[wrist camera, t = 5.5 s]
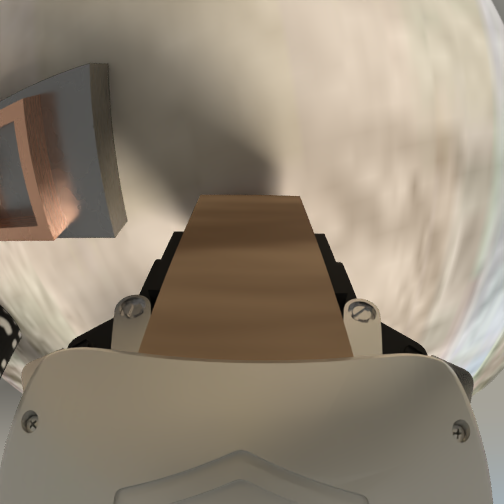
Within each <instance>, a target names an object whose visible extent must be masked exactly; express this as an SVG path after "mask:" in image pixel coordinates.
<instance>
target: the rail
mask: <svg viewBox="0 0 504 504" xmlns="http://www.w3.org/2000/svg"><path fill="white" fill-rule="evenodd" d="M126 222H127V217H126V212H125V207H124V202H123V197H122V192H121V186H120V180H119V174H118V168H117V162H116V155H115V147H114V139H113V131H112V121H111V110H110V96H109V77H108V64H106V63H89V64H86V65H83V66H80V67H77V68H74V69H71V70H68V71H66V72H63V73H60V74H58V75H55V76H53V77H50V78H48V79H45V80H43V81H41V82H38V83H36V84H34V85H32V86H30V87H27V88H25V89H23V90H21V91H19V92H17V93H15V94H13V95H11V96H10V97H8V98H6V99H4V100H2V101H0V241H54V240H55V239H56V238H115V237H116V236H117V234H118V233H119V232H120V230H121V229H122V228H123V226H124V225H125V224H126Z"/></svg>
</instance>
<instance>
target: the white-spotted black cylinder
mask: <svg viewBox="0 0 504 504" xmlns="http://www.w3.org/2000/svg"><path fill="white" fill-rule="evenodd" d="M21 337H22V335H21V332H20V329H19V327H18V326H17V324H16V323H15V321H14V320H13V319H12V317H11V316H10V315H9V314H8V313H7V312H6V311H5V310H4V309H3V308H2V307H1V306H0V378H1V376H2V374H3V372H4V370H5V368H6V366H7V364H8V362H9V360H10V358H11V356H12V354H13V352H14V350H15V348H16V347H17V345H18V343H19V341H20V339H21Z"/></svg>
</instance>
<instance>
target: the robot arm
mask: <svg viewBox="0 0 504 504" xmlns="http://www.w3.org/2000/svg"><path fill="white" fill-rule="evenodd" d="M183 233H184V232H174V233H173V235H172V237H171V239H170V241H169V243H168V245H167V248H166V250H165V252H164V254H163V256H162V258H161V259H157V260H155V262H154V264H153V266H152V268H151V270H150V272H149V274H148V277H147V279H146V281H145V283H144V285H143V287H142V290H141V292H140V294H139V295H131V296H128V297H126V298H123V299H122V300H121V301H120V302H119V303H118V304H117V305H116V308H115V313H114V318H112V319H111V320H109V321H107V322H105V323H103V324H101V325H99V326H97V327H95V328H93V329H91V330H90V331H88V332H86V333H84V334H82V335H80V336H78V337H77V338H75V339H74V340H72V342H71V343H70V344H69V346H68V348H67V349H63V348H62V349H60V350H57V351H55V352H53V353H50V354H48V355H45V356H43V357H41V358H38V359H36V360H33V361H31V362H29V363H28V364H26V365H25V367H24V368H23V370H22V374H21V378H22V386H23V395H22V397H21V400H20V402H19V405H18V407H17V410H16V413H15V416H14V419H13V422H12V425H11V428H10V431H9V434H8V438H7V441H6V444H5V449H4V453H3V457H2V462H1V468H0V504H493V498H492V490H491V482H490V476H489V469H488V464H487V459H486V454H485V450H484V446H483V443H482V439H481V435H480V432H479V429H478V425H477V422H476V419H475V415H474V413H473V410H472V408H471V405H470V403H471V397H472V392H473V386H474V382H473V378H472V376H471V374H470V373H469V372H468V371H466V370H465V369H463V368H460V367H458V366H456V365H454V364H451V363H449V362H447V361H445V360H443V359H440V358H438V357H436V356H434V355H431V356H428V355H427V353H426V350H425V349H424V348H423V347H422V346H421V345H420V344H419V343H417V342H415V341H413V340H412V339H410V338H408V337H406V336H405V335H403V334H401V333H399V332H398V331H396V330H394V329H392V328H391V327H389V326H387V325H385V324H383V323H382V322H381V318H380V312H379V309H378V308H377V306H376V305H374V304H373V303H372V302H370V301H368V300H365V299H357V298H356V295H355V293H354V290H353V288H352V285H351V283H350V280H349V278H348V275H347V273H346V270H345V268H344V266H343V264H342V263H341V262H336V261H335V258H334V256H333V253H332V251H331V249H330V246H329V244H328V241H327V239H326V237H325V234H314V235H315V237H316V240H317V243H318V246H319V249H320V251H321V254H322V257H323V260H324V263H325V266H326V269H327V271H328V274H329V277H330V280H331V283H332V286H333V289H334V293H335V296H336V299H337V302H338V305H339V308H340V311H341V315H342V318H343V321H344V324H345V328H346V331H347V335H348V338H349V341H350V345H351V348H352V352H353V356H354V357H344V358H330V359H310V360H222V359H202V358H187V357H175V356H164V355H154V354H145V353H138V351H139V348H140V345H141V342H142V339H143V336H144V333H145V331H146V328H147V325H148V322H149V319H150V316H151V314H152V311H153V308H154V305H155V303H156V300H157V297H158V295H159V292H160V289H161V287H162V284H163V282H164V279H165V277H166V274H167V271H168V269H169V266H170V264H171V262H172V259H173V257H174V254H175V252H176V249H177V247H178V245H179V242H180V240H181V238H182V235H183Z"/></svg>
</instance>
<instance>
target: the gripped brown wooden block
mask: <svg viewBox="0 0 504 504" xmlns="http://www.w3.org/2000/svg"><path fill="white" fill-rule="evenodd" d="M138 353H145V354H154V355H164V356H175V357H187V358H202V359H222V360H310V359H330V358H344V357H354V356H353V352H352V348H351V345H350V341H349V338H348V335H347V331H346V328H345V324H344V321H343V318H342V315H341V311H340V308H339V305H338V302H337V299H336V296H335V293H334V289H333V286H332V283H331V280H330V277H329V274H328V271H327V269H326V266H325V263H324V260H323V257H322V254H321V251H320V249H319V246H318V243H317V240H316V237H315V235H314V232H313V229H312V227H311V224H310V221H309V219H308V216H307V213H306V211H305V208H304V206H303V203H302V200H301V198H300V196H277V195H200V197H199V199H198V201H197V203H196V206H195V208H194V210H193V212H192V215H191V217H190V219H189V221H188V224H187V226H186V228H185V231H184V233H183V235H182V238H181V240H180V242H179V245H178V247H177V249H176V252H175V254H174V257H173V259H172V262H171V264H170V266H169V269H168V271H167V274H166V277H165V279H164V282H163V284H162V287H161V289H160V292H159V295H158V297H157V300H156V303H155V305H154V308H153V311H152V314H151V316H150V319H149V322H148V325H147V328H146V331H145V333H144V336H143V339H142V342H141V345H140V348H139V351H138Z"/></svg>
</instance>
